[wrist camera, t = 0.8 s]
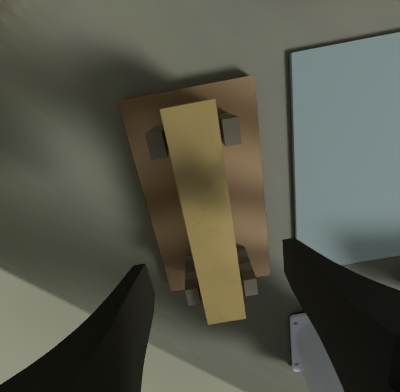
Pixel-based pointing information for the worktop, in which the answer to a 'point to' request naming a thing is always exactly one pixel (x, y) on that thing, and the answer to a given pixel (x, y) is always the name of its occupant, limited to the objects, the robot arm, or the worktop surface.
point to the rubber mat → (347, 148)
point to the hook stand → (235, 173)
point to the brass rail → (206, 205)
